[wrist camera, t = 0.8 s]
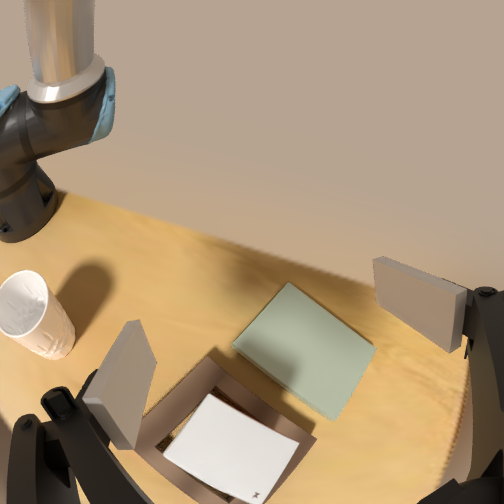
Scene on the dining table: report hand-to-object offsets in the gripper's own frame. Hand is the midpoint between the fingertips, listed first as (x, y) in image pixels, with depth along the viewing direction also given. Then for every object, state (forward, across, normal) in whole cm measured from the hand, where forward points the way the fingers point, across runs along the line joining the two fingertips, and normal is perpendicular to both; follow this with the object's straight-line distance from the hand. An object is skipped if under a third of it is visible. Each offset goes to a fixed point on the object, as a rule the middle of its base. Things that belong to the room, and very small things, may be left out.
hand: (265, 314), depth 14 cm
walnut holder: (+8, -8, -19) cm, 22 cm away
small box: (+9, -8, -19) cm, 22 cm away
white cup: (+16, -26, -5) cm, 31 cm away
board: (+17, +6, -15) cm, 24 cm away
